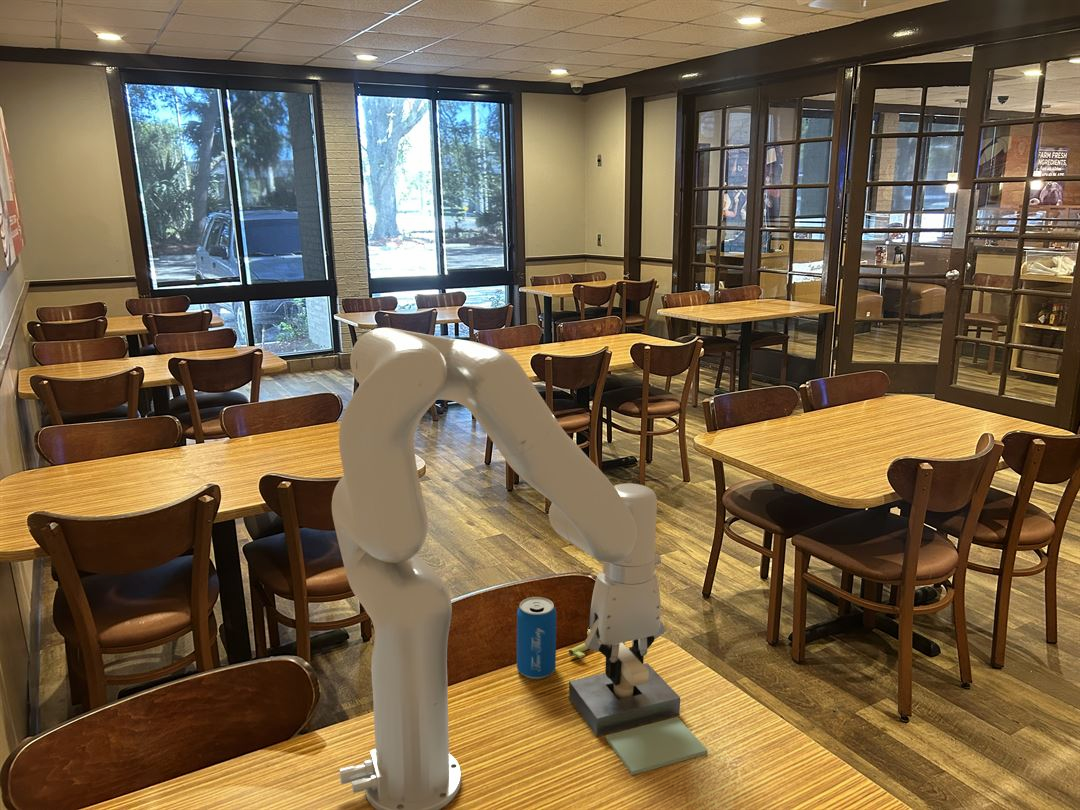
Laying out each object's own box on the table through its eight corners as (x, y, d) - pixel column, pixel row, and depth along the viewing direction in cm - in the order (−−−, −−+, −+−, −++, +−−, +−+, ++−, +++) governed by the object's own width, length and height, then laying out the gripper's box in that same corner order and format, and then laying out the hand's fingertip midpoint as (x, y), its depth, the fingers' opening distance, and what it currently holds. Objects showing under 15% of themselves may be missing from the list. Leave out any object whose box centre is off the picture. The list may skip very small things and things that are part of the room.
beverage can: (517, 681, 125) (517, 615, 122) (516, 660, 131) (516, 595, 129) (556, 681, 125) (557, 614, 123) (554, 659, 132) (555, 595, 129)
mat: (632, 775, 104) (632, 771, 104) (605, 739, 111) (605, 735, 111) (707, 753, 108) (707, 749, 108) (677, 720, 116) (677, 716, 116)
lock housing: (596, 736, 112) (597, 718, 111) (568, 698, 121) (569, 681, 120) (679, 715, 117) (680, 697, 116) (646, 679, 126) (647, 663, 125)
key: (566, 662, 132) (566, 650, 131) (591, 629, 143) (592, 618, 142) (606, 672, 129) (606, 660, 128) (628, 637, 140) (629, 626, 139)
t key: (600, 685, 123) (601, 640, 121) (616, 681, 124) (618, 636, 122) (629, 722, 114) (631, 674, 112) (647, 718, 115) (649, 670, 113)
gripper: (663, 549, 120) (657, 655, 124) (567, 565, 114) (565, 675, 118) (689, 569, 113) (682, 680, 117) (589, 587, 107) (586, 703, 111)
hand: (623, 676), depth 118 cm, fingers closed on t key, 3 cm apart
